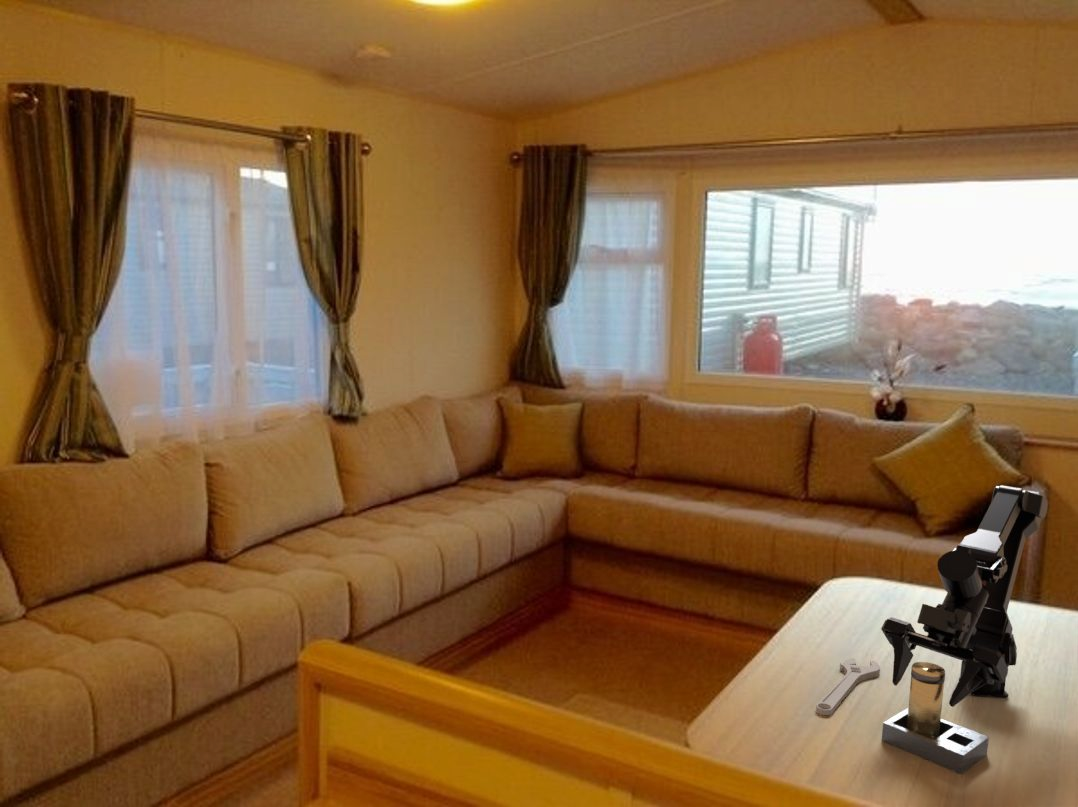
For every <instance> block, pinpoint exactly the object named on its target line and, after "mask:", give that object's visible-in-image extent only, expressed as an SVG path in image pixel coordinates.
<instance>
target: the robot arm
mask: <svg viewBox="0 0 1078 807" xmlns="http://www.w3.org/2000/svg"><path fill="white" fill-rule="evenodd" d="M1048 506H1049V502H1048V499H1047V498H1046V497H1045V496H1043V493H1042V492H1041V491H1036V490H1028V489H1024V488H1022V487H1017V486H1016V487H1015V486H1009V485H1003V484H1001V485H995V487H994V488H993V492H992V497H991V502H990V504H989V506H988V509H987V511H986V512H985V514H984V516H983V518H982V520H981V522H980V524H979V526H978V528H977V529H976V531H975V532H973V533H970V534H968V535H965V536H964V537H963V538H962V539H961V541H960V542H959V544H957V546H956V547H954V548H953V550H950V551H947V552H945V553H944V554H943V555H941V557H940V558H939V559H938V560H937V570H938V573H939V576H940V580H941V583H942V586H943V588H944V590H945V592H947V593H946V594H945V598H944V599H943V601H942V604H941V603H938V604H937V605H935V606H933V605H929V604H926V603H922V604H921V608H920V611H919V614H918V618H917V622H916V623H918V624H922V625H923V626H922V629H923V631H924V632H925V633H927V635H926V634H925V635H924V634H921V633H918V632H916V631H915V628H914V627H913V625H912V623H911V622H908V621H905V620H901V619H899V618H895V617H888V618H887V619H885V620H884V622H883V624H882V626H881V628H880V630H881V632H882V633H883V634H884V636H885V638H886V640H887V641H888V644H890V645H891V646H892V648H893V669H892V670H893V671H892V684H893V685H894V686H896V687H897V686H898V685H899V683H900V682H901V680H902V678H903V677H904V675H905V673H906V672H907V669H908V667H909V665H910V663H911V661H912V659H913V658H914V654H913V651H914V650H916V648H917V647H922V648H924V649H927V650H930V651H933V652H935V653H940V654H943V655H945V656H947V657H951V658H954V659H957V660H960V661H961V664H960V665H961V666H960V675H959V677H958V682H957V684H956V686H955V688H954V690H953V692H952V694H951V696H950V699H949V702H948V703H949V706H950V707H952V708H953V707H955V706H956V705H957V704H959V703H960V702H961V701H963V700H964V699H966V697H968V696H969V695H971V696H972V697H973V696H974V697H976V696H977V697H988V698H989V697H992V698H1009V693H1008V692H1007V691H1006V689H1005V688H1006V680H1007V679H1006V678H1007V676H1008V673H1009V667H1010V666H1016V664H1017V657H1018V652H1017V651H1018V650H1017V645H1016V641H1015V637H1014V633H1013V625H1012V623H1011V621H1010V618H1009V615H1008V608H1009V604H1010V600H1011V596H1012V593H1013V590H1014V589H1013V588H1014V585H1015V581H1016V578H1017V574H1018V570H1019V567H1020V566H1019V565H1020V562H1021V558H1022V554H1023V550H1024V548H1025V544H1026V543H1025V542H1026V540H1027V538H1028V537H1030V536H1031V535H1032V534H1034V533H1035V532H1037V531H1038V529H1040V525H1041V522H1042V519H1044V518H1046V515H1047V512H1048ZM983 582H985V583H984V584H983Z"/></svg>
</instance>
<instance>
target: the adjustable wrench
mask: <svg viewBox="0 0 1078 807" xmlns="http://www.w3.org/2000/svg"><path fill="white" fill-rule="evenodd" d="M880 671H881V665H880V664H879V663H878V662H876V661H874V660H870V663H869V665H857V661H856V658H855V657H854V658H853V657H852V658H848V659H845V660H844V661H843V662H842V663H840V664H839V672H842V673H843V674H844V676H843V677H842V678H841V679H840V680H838V682H837V683H836V684H835V685H834V686H833V687H832V688H831V689H830V690H829V691H828V692H827V693H826V694H825V695H824V696H823V697H822V698H821V699H820V701H819V702H817V703H816V707H815V712H816V711H817V712H818V713H820V714H822V715H821V716H824V715H829V716H831V715H833V713H834V712H835V711H836V710H835V709H837V708H839V706H840V705H841V704H842V702H843V701H844V700H845V699H846V698H847V696H848V695H849V694H850V693H851V692H852V690H854V688H855V687H856V686H857V684H859V682H862V681H865V680H869V679H871V678H873V679H874V678H876V677H878V676H880V673H881V672H880ZM868 678H869V679H868ZM850 691H851V692H850ZM849 692H850V693H849ZM847 694H848V695H847ZM845 697H846V698H845ZM844 698H845V699H844ZM843 699H844V700H843ZM842 700H843V701H842ZM841 701H842V702H841ZM840 703H841V704H840ZM839 704H840V705H839ZM838 705H839V706H838ZM817 712H816V713H817ZM818 713H817V714H818ZM820 714H819V715H820Z"/></svg>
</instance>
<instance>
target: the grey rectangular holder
mask: <svg viewBox="0 0 1078 807" xmlns="http://www.w3.org/2000/svg"><path fill="white" fill-rule="evenodd" d="M907 719H908V707H907V708H905V709H904V710H902V711H901V712H898V713H897V714H895V715H894V716H892V717H890V718H889V719H887V720H885V721H883V723H882V732H881V733H882V734H881V741H883V742H884V743H887V744H889V745H892V746H894V747H896V748H898V749H901V750H904V751H906V752H908V753H910V754H913V755H915V756H918V757H920V758H922V759H925V760H927V761H930V762H932V763H934V764H936V765H940V766H941V767H944V768H946V769H948V770H951V771H953V772H954V773H955V772H956V773H958V774H960V775H962V774H964V773H965V772H967V770H969V769H970V768H972V767H973V766H975V765H976V764H977V763H978V762H980V761H981V760H983V759H984V758H985V757H986V756H988V755H987V754H988V748H989V746H988V745H989V740H990V739H989V738H990V737H989V736H987V735H984V734H981V733H979V732H977V731H974V730H972V729H968V728H966V727H965V726H961V725H958V724H956V723H954V722H951V721H948V720H945V719H943V718H941V720H940V731H939V737H938V738H936V739H935V740H932V739H930V738H927V737H925V736H922V735H920V734H917V733H915V732H913V731H910V730H908V729H907Z"/></svg>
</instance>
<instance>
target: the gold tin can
mask: <svg viewBox="0 0 1078 807" xmlns="http://www.w3.org/2000/svg"><path fill="white" fill-rule="evenodd" d="M945 681H946V670H945V669H944V668H943V667H942V666H940V665H938V664H935V663H932V662H928V661H927V662H925V661H918V662H914V663H912V666H911V671H910V685H909V686H910V687H909V698H908V707H907V708H908V719H907V729H908V730H910V731H913V732H915V733H917V734H920V735H922V736H925V737H927V738H930V739H932V740H935V739H936V738H938V737H939V731H940V720H941V719H942V707H943V699H944V698H943V697H944V686H945Z"/></svg>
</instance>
